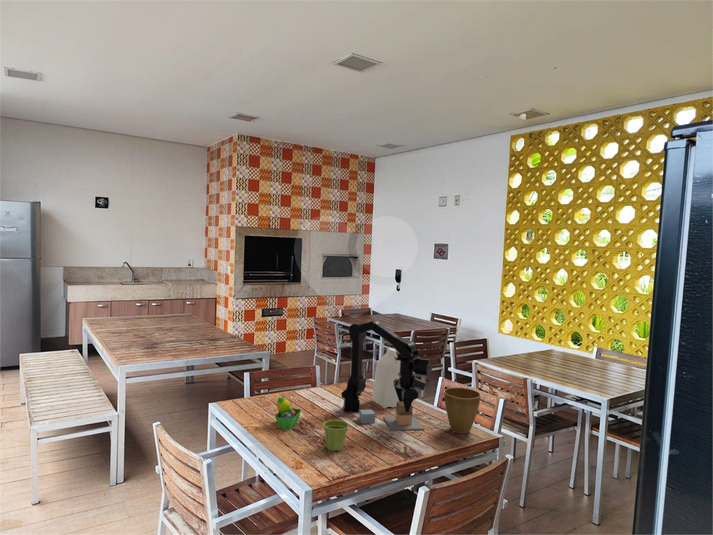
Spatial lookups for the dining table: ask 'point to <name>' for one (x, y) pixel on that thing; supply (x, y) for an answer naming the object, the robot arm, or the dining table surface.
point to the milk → (386, 379)
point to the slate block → (367, 416)
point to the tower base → (403, 427)
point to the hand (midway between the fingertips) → (404, 408)
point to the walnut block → (403, 409)
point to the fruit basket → (286, 414)
